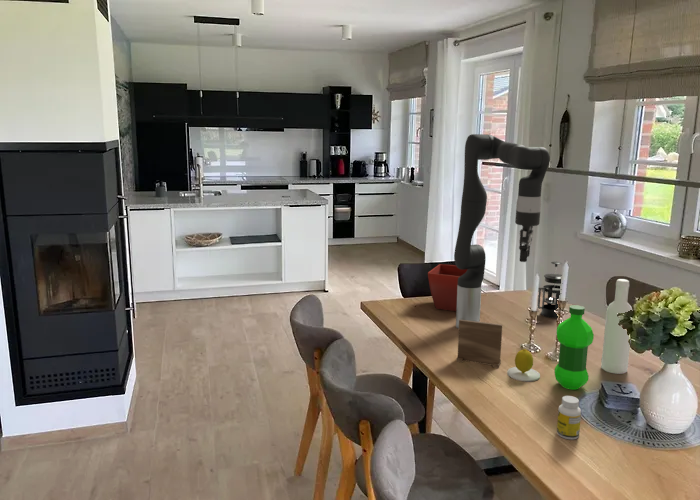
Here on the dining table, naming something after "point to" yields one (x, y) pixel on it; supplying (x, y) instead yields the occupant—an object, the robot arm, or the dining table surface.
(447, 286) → the plant pot
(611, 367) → the bottle
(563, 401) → the supplement bottle
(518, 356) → the lemon
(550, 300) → the french press
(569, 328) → the plastic bottle
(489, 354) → the walnut screen
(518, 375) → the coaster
